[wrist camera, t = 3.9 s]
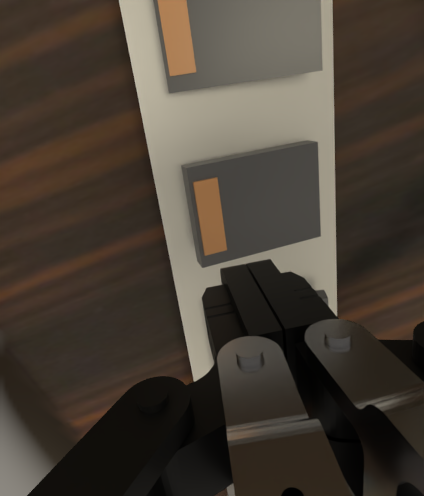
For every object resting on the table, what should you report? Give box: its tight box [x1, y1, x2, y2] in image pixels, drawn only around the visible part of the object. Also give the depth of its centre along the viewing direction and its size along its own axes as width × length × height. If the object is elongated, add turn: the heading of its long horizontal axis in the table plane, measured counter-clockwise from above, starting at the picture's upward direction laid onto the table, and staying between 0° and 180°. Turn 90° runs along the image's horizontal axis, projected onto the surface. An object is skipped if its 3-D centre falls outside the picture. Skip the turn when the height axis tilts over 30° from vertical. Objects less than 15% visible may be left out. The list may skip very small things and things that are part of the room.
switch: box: [153, 0, 323, 93], centre depth 17 cm, size 5×7×1 cm
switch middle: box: [181, 140, 321, 268], centre depth 20 cm, size 5×7×1 cm
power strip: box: [119, 0, 337, 382], centre depth 23 cm, size 30×10×3 cm, turn 8°
